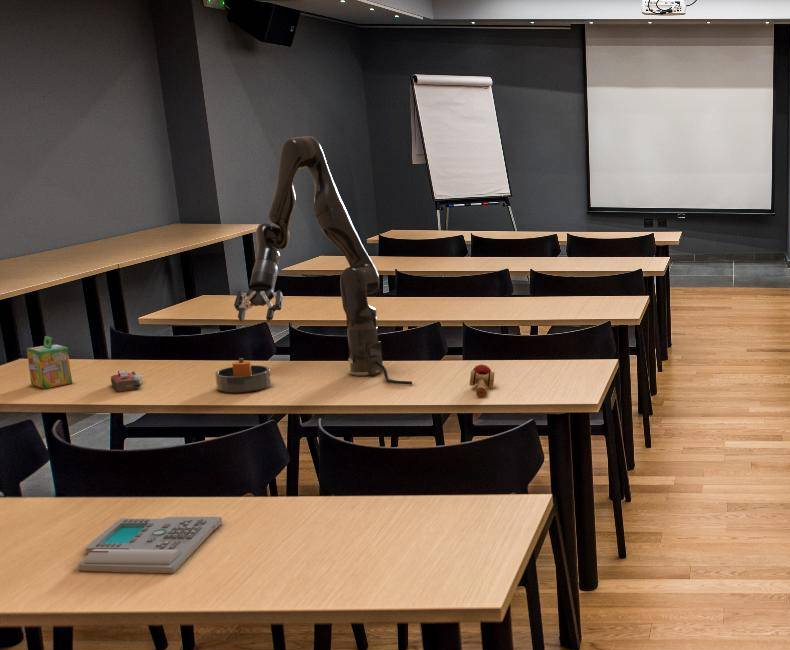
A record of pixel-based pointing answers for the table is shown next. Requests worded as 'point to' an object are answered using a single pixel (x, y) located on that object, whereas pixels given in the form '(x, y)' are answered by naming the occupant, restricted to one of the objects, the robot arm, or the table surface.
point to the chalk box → (49, 365)
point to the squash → (241, 368)
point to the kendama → (482, 379)
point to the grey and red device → (126, 381)
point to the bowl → (243, 380)
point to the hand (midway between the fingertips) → (254, 320)
